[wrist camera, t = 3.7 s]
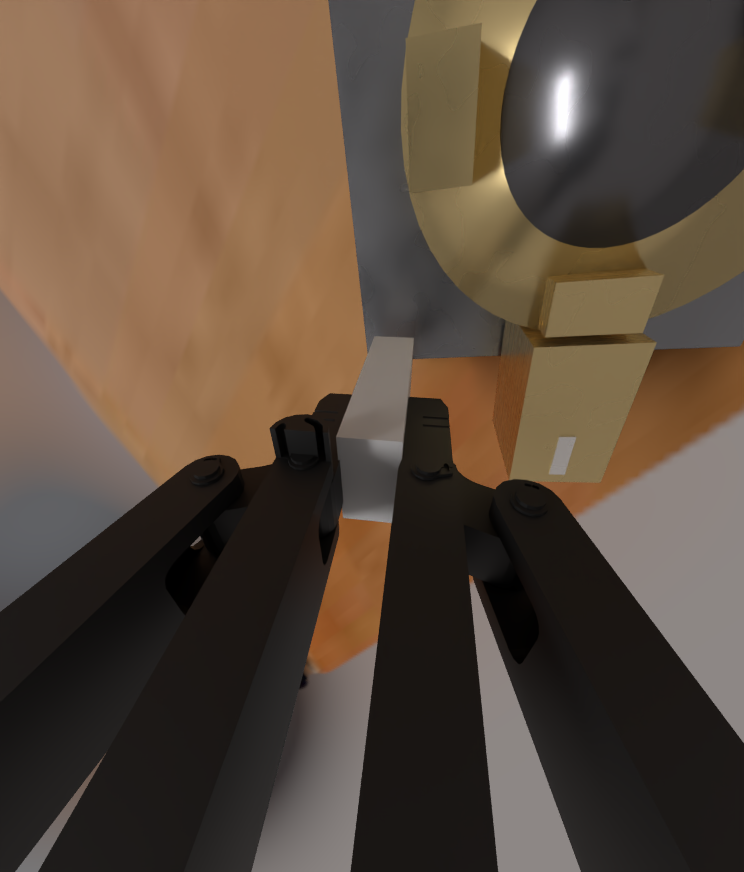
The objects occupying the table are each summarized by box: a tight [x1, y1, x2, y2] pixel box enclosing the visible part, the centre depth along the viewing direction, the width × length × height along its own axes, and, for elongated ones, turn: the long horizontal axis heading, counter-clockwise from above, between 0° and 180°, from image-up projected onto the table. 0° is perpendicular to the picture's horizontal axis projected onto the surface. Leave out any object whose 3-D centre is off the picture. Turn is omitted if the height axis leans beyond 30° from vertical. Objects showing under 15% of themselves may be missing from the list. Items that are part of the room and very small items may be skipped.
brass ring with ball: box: [401, 0, 744, 483], centre depth 9 cm, size 15×10×4 cm, turn 6°
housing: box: [328, 0, 744, 359], centre depth 9 cm, size 14×16×7 cm
